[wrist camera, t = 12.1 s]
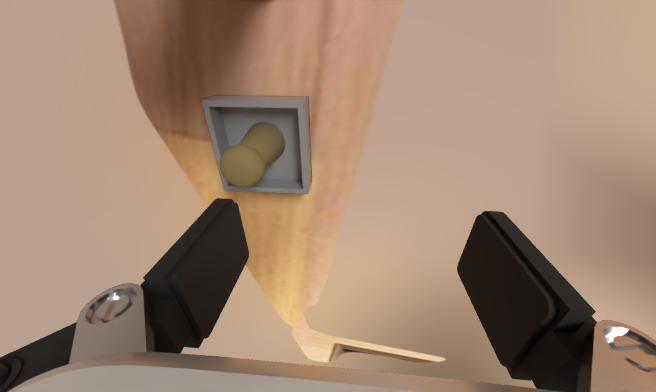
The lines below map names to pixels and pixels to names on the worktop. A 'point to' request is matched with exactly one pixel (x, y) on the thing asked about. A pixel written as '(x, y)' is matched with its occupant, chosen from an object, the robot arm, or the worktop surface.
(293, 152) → the box
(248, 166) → the cork
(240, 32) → the worktop surface
